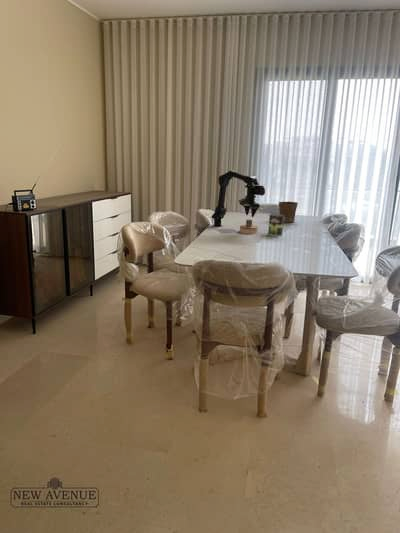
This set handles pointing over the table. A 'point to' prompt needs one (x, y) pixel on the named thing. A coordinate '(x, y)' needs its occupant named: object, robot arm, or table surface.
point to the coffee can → (276, 224)
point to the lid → (248, 225)
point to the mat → (227, 230)
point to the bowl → (249, 231)
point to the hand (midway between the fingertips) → (249, 216)
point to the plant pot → (288, 211)
